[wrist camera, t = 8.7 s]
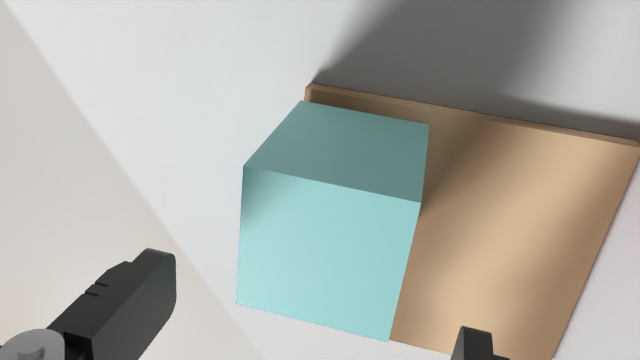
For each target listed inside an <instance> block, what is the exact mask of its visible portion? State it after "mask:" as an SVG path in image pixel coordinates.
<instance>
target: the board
mask: <svg viewBox="0 0 640 360" xmlns="http://www.w3.org/2000/svg"><path fill="white" fill-rule="evenodd" d="M304 101H306V102H311V103H317V104H322V105H327V106H333V107H338V108H343V109H349V110H354V111H359V112H364V113H370V114H375V115H380V116H386V117H391V118H396V119H402V120H407V121H412V122H418V123H423V124H428V125H429V135H428V144H427V154H426V163H425V173H424V182H423V192H422V201H421V206H420V211H419V215H418V219H417V223H416V227H415V231H414V236H413V240H412V244H411V248H410V252H409V257H408V261H407V265H406V269H405V273H404V278H403V282H402V286H401V290H400V294H399V299H398V303H397V307H396V311H395V315H394V319H393V324H392V328H391V332H390V336H389V340H392V341H396V342H400V343H404V344H408V345H412V346H416V347H420V348H424V349H429V350H433V351H437V352H441V353H445V354H449V355H452V353H453V350H454V346H455V343H456V340H457V337H458V333H459V330H460V328H461V326H466V327H470V328H474V329H478V330H483V331H487V332H490V333H491V334H492V341H493V353H494V355H498V356H502V357H506V358H510V360H552V357H553V355H554V353H555V350H556V348H557V346H558V343H559V341H560V339H561V337H562V334H563V332H564V330H565V327H566V325H567V323H568V320H569V318H570V316H571V314H572V311H573V309H574V307H575V304H576V302H577V300H578V297H579V295H580V293H581V290H582V288H583V286H584V284H585V281H586V279H587V277H588V274H589V272H590V270H591V267H592V265H593V263H594V261H595V258H596V256H597V254H598V251H599V249H600V247H601V244H602V242H603V240H604V237H605V235H606V233H607V231H608V228H609V226H610V224H611V221H612V219H613V217H614V214H615V212H616V210H617V208H618V205H619V203H620V201H621V198H622V196H623V194H624V191H625V189H626V187H627V185H628V182H629V180H630V178H631V175H632V173H633V171H634V168H635V166H636V164H637V161H638V159H639V157H640V144H639V143H638V142H637V141H636V140H630V139H624V138H619V137H613V136H607V135H602V134H596V133H590V132H585V131H579V130H573V129H568V128H562V127H557V126H551V125H545V124H540V123H534V122H528V121H523V120H517V119H511V118H506V117H500V116H494V115H489V114H483V113H478V112H472V111H466V110H461V109H455V108H449V107H444V106H438V105H432V104H427V103H421V102H416V101H410V100H404V99H399V98H393V97H387V96H382V95H376V94H370V93H365V92H359V91H353V90H348V89H342V88H337V87H331V86H325V85H320V84H314V83H310V84H309V85H308V86H307V87H306V88H305V97H304Z"/></svg>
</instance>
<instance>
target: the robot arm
mask: <svg viewBox="0 0 640 360" xmlns="http://www.w3.org/2000/svg"><path fill="white" fill-rule="evenodd" d="M175 303H176V261H175V256H174V255H173V254H171V253H167V252H162V251H158V250H154V249H150V248H147V249H145V250H144V251H143V252H142V253H141V254H140V255H139V256H138V257H137V258H136V259H135V260H134V261H133V262H132V263H131V262H127V261H124V262H122V263H120V264H118V265H116V266H114V267H112V268H110V269H108V270H107V271H106V272H105V273H104V274H103V275H102V276H101V277H99V278H98V279H97V280H96V281H95V284H92V285H91V286H90V287H89V288H88V289H87V290H86V291H85V293H84V294H82V295H81V296H80V297H79V298H77V299H76V300H75V301H74V302H73V303H72V304H71V305H70V306H69V307H68V308H67V309H66V310H65V311H64V312H63V313H62V314H61V315H60V316H59V317H57V318H56V319H55V320H54V321H53V322H52V323H51V324H50V325H49V326H48V327H47V328H46V329H35V330H30V331H26V332H23V333H20V334H18V335H16V336H14V337H13V338H11V339H10V340H8V341H7V342H6V343H5V344H4V345H3V346H0V360H138V359H139V358H140V356H141V355H142V354H143V352H144V351H145V350H146V349H147V347H148V346H149V345H150V343H151V342H152V341H153V339H154V338H155V337H156V335H157V334H158V333H159V331H160V330H161V329H162V327H163V326H164V325H165V323H166V322H167V321H168V319H169V318H170V316H171V314H172V312H173V310H174V307H175ZM451 360H510V358H506V357H502V356H498V355H494V353H493V341H492V334H491V333H490V332H487V331H483V330H478V329H474V328H470V327H466V326H461V328H460V330H459V333H458V337H457V340H456V343H455V346H454V350H453V353H452V356H451Z"/></svg>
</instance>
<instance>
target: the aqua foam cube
mask: <svg viewBox="0 0 640 360" xmlns="http://www.w3.org/2000/svg"><path fill="white" fill-rule="evenodd" d="M428 135H429V125H428V124H423V123H418V122H412V121H407V120H402V119H396V118H391V117H386V116H380V115H375V114H370V113H364V112H359V111H354V110H349V109H343V108H338V107H333V106H327V105H322V104H317V103H311V102H306V101H300V102H299V103H298V104H297V105H296V107H295V108H294V109H293V110H292V111H291V112H290V113H289V115H288V116H287V117H286V118H285V119H284V120H283V121H282V122H281V124H280V125H279V126H278V127H277V128H276V129H275V130H274V131H273V133H272V134H271V135H270V136H269V137H268V138H267V139H266V141H265V142H264V143H263V144H262V145H261V146H260V147H259V148H258V150H257V151H256V152H255V153H254V154H253V155H252V156H251V158H250V159H249V160H248V161H247V162H246V163H245V164H244V165H243V181H242V199H241V217H240V235H239V253H238V271H237V289H236V304H238V305H242V306H246V307H250V308H254V309H258V310H262V311H266V312H270V313H274V314H278V315H282V316H286V317H290V318H294V319H298V320H302V321H306V322H310V323H314V324H317V325H321V326H325V327H329V328H333V329H337V330H341V331H345V332H349V333H353V334H357V335H361V336H365V337H369V338H373V339H377V340H381V341H385V342H388V340H389V336H390V332H391V328H392V324H393V319H394V315H395V311H396V307H397V303H398V299H399V294H400V290H401V286H402V282H403V278H404V273H405V269H406V265H407V261H408V257H409V252H410V248H411V244H412V240H413V236H414V231H415V227H416V223H417V219H418V215H419V211H420V206H421V201H422V192H423V182H424V173H425V163H426V154H427V144H428Z"/></svg>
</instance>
